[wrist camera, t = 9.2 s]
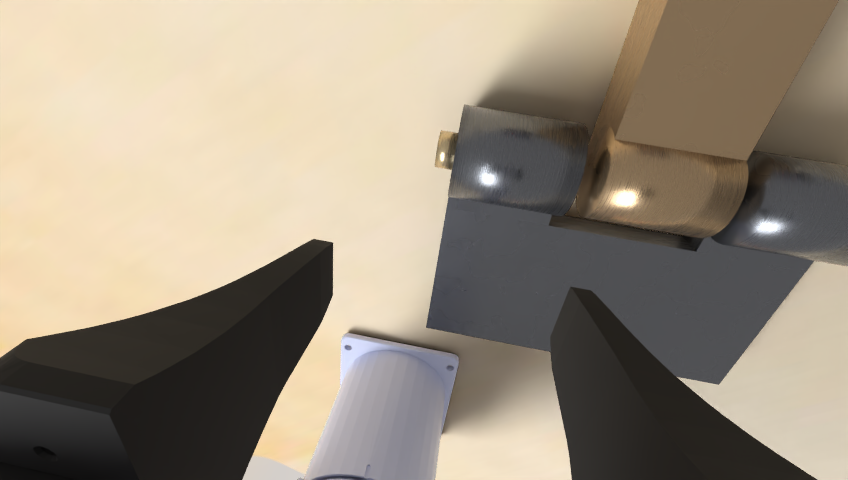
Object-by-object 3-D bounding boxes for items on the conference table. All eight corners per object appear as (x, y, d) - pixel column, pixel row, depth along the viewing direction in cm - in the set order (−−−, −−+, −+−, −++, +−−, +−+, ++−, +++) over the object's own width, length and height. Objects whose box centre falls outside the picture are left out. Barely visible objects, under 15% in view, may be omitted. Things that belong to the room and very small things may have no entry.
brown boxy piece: (671, 213, 19) (710, 255, 16) (570, 195, 20) (587, 233, 16) (802, -45, 14) (904, -66, 11) (661, -65, 14) (715, -90, 11)
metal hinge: (719, 367, 23) (759, 427, 20) (417, 308, 25) (405, 356, 21) (873, 161, 17) (971, 198, 13) (449, 94, 18) (440, 112, 15)
